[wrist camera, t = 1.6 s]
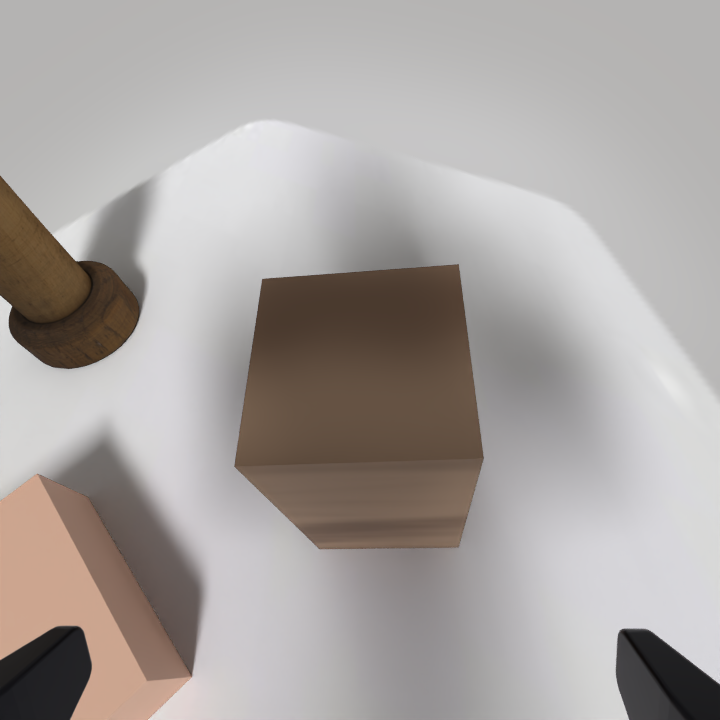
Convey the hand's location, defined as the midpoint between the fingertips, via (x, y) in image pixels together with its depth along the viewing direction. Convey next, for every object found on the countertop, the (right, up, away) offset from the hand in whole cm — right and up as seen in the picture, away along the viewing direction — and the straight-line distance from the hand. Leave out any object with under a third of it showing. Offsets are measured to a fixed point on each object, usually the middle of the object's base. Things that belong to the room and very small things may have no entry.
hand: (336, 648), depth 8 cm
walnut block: (+2, -1, +14) cm, 15 cm away
